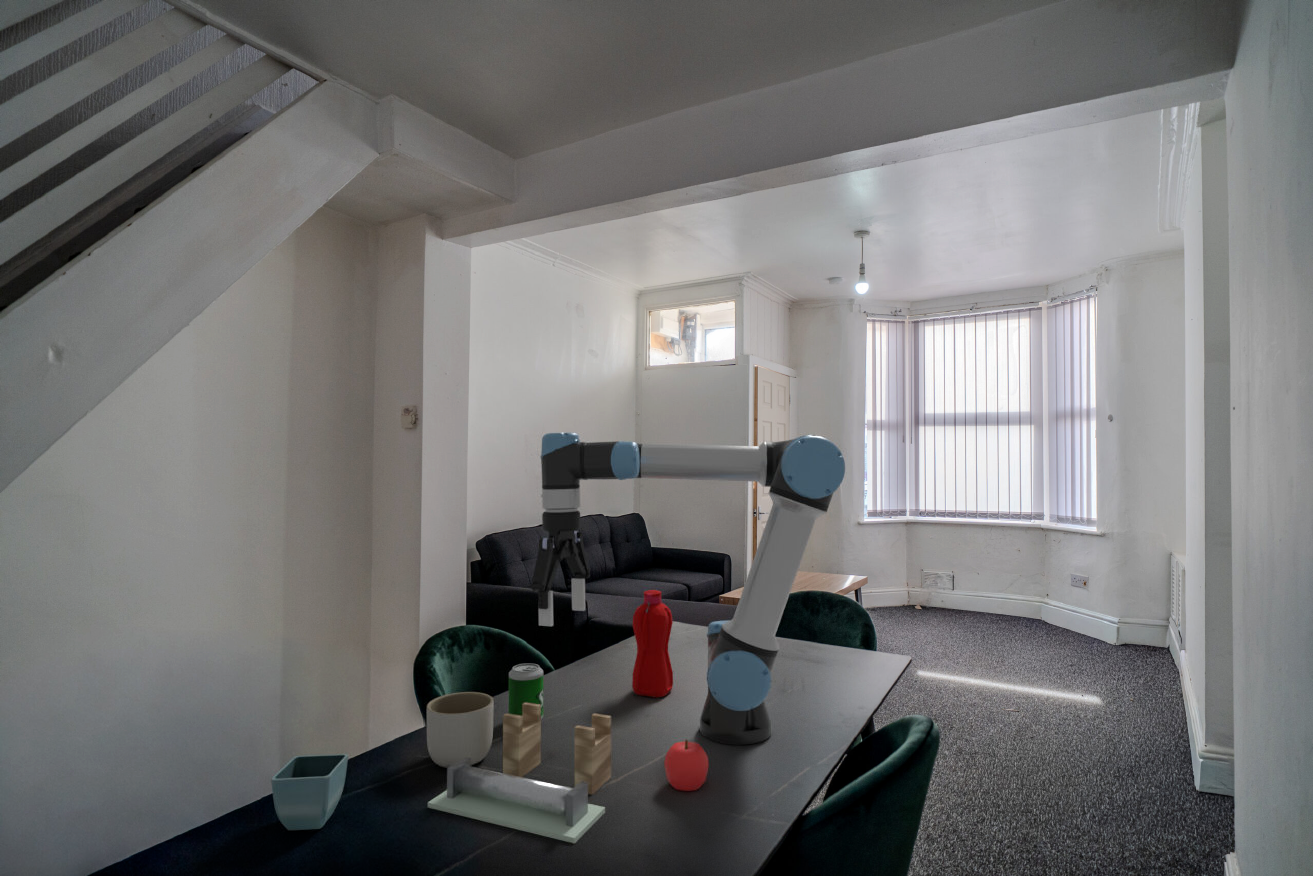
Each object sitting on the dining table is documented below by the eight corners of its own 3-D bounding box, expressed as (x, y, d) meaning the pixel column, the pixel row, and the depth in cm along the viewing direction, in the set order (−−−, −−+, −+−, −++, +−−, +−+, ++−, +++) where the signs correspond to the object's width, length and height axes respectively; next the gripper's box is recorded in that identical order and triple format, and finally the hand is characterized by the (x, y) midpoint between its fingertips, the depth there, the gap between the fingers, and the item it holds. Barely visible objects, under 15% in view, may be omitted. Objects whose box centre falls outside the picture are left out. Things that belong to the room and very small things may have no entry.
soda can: (535, 730, 148) (535, 673, 149) (502, 727, 150) (503, 671, 150) (548, 717, 156) (548, 663, 156) (516, 714, 157) (516, 661, 157)
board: (605, 812, 114) (605, 807, 114) (574, 843, 104) (574, 838, 104) (466, 781, 125) (466, 777, 125) (427, 807, 115) (427, 802, 115)
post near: (611, 777, 126) (611, 716, 126) (592, 794, 120) (592, 730, 120) (594, 773, 128) (594, 713, 128) (574, 791, 121) (574, 727, 121)
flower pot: (293, 810, 115) (294, 755, 115) (348, 807, 115) (349, 753, 116) (268, 839, 106) (269, 779, 106) (328, 836, 107) (329, 777, 107)
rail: (587, 812, 112) (587, 782, 112) (572, 827, 108) (572, 795, 108) (465, 785, 122) (465, 757, 122) (447, 797, 117) (447, 768, 117)
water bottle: (625, 698, 168) (625, 594, 169) (643, 684, 178) (642, 586, 179) (660, 702, 165) (660, 596, 165) (676, 688, 175) (676, 588, 176)
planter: (432, 780, 125) (432, 719, 126) (421, 754, 136) (421, 698, 137) (500, 765, 131) (500, 707, 131) (484, 742, 142) (484, 688, 142)
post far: (540, 763, 132) (540, 704, 132) (519, 779, 125) (519, 717, 126) (525, 760, 133) (525, 702, 134) (502, 776, 127) (503, 715, 127)
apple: (664, 775, 127) (664, 731, 127) (708, 775, 127) (708, 731, 127) (663, 796, 119) (663, 749, 119) (709, 797, 119) (709, 749, 119)
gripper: (573, 505, 151) (575, 603, 150) (510, 515, 128) (512, 631, 127) (604, 505, 149) (606, 605, 148) (546, 515, 125) (548, 634, 124)
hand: (563, 617), depth 137 cm, fingers open, 13 cm apart
